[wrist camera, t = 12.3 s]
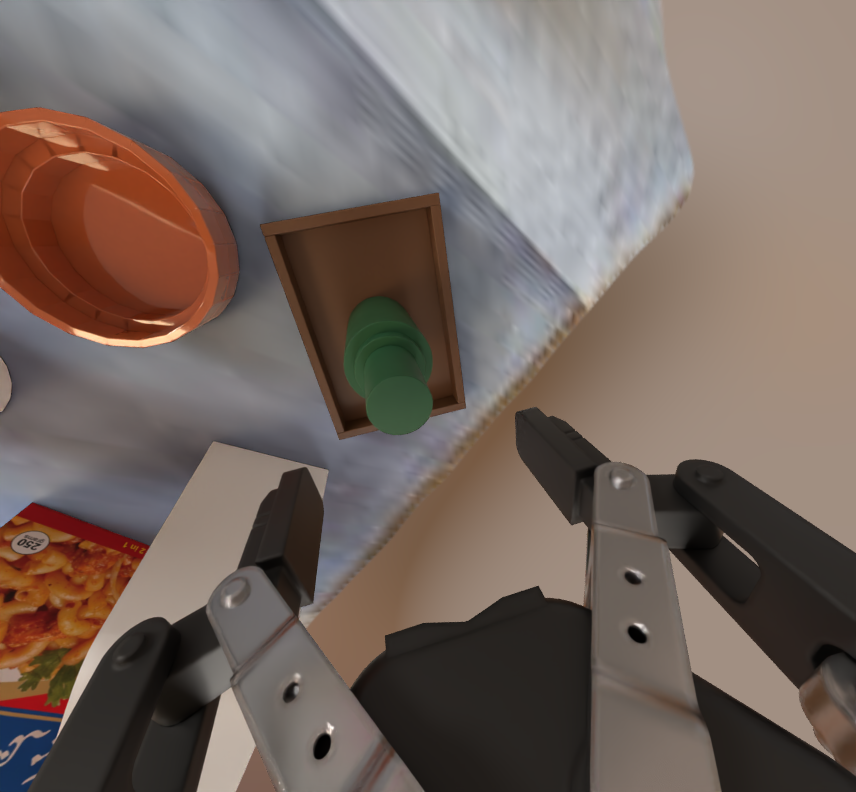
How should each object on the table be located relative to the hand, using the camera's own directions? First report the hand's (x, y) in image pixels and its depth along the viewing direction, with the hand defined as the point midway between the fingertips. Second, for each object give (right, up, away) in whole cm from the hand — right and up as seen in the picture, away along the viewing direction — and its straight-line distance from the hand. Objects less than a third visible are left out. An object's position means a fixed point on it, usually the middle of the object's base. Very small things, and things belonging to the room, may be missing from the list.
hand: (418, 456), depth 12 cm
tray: (-4, +9, +18) cm, 21 cm away
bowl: (-21, +14, +12) cm, 28 cm away
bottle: (-4, +9, +18) cm, 20 cm away
